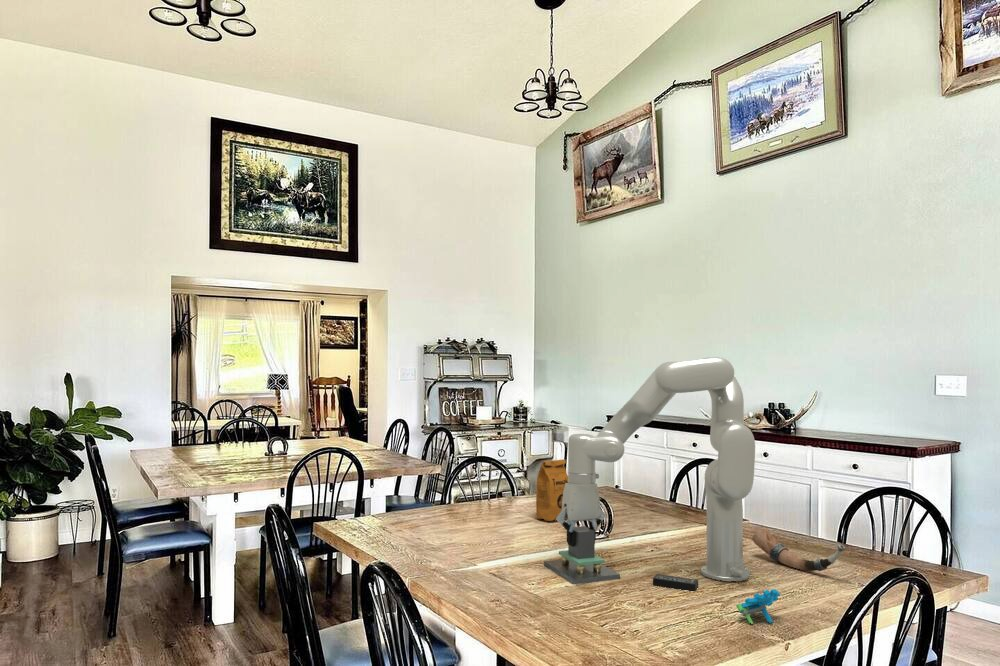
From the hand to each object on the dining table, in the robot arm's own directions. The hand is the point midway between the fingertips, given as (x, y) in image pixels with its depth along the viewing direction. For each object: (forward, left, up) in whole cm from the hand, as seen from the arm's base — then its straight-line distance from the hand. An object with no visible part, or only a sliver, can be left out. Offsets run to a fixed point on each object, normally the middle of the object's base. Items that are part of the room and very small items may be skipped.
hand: (581, 543), depth 191 cm
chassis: (0, 0, -8) cm, 8 cm away
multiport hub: (-19, -17, -8) cm, 27 cm away
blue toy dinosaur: (-45, -21, -8) cm, 50 cm away
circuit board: (0, 0, -4) cm, 4 cm away
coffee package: (+61, -22, -8) cm, 65 cm away
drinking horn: (-18, -60, -8) cm, 63 cm away
